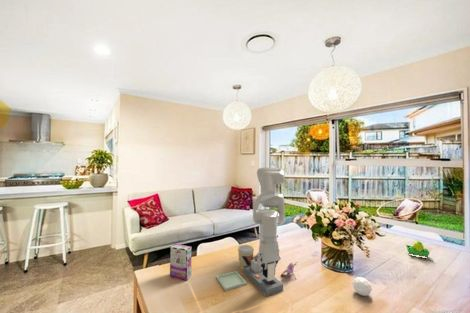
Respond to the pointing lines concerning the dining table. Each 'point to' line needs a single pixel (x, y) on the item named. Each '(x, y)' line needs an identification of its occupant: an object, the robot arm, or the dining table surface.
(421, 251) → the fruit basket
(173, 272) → the candy bar box
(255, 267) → the grey twin plug
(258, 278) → the power strip
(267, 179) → the robot arm
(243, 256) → the coffee cup
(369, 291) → the geometric ball
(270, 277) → the cream plug
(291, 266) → the lily
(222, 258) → the dining table surface
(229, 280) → the sage tray
